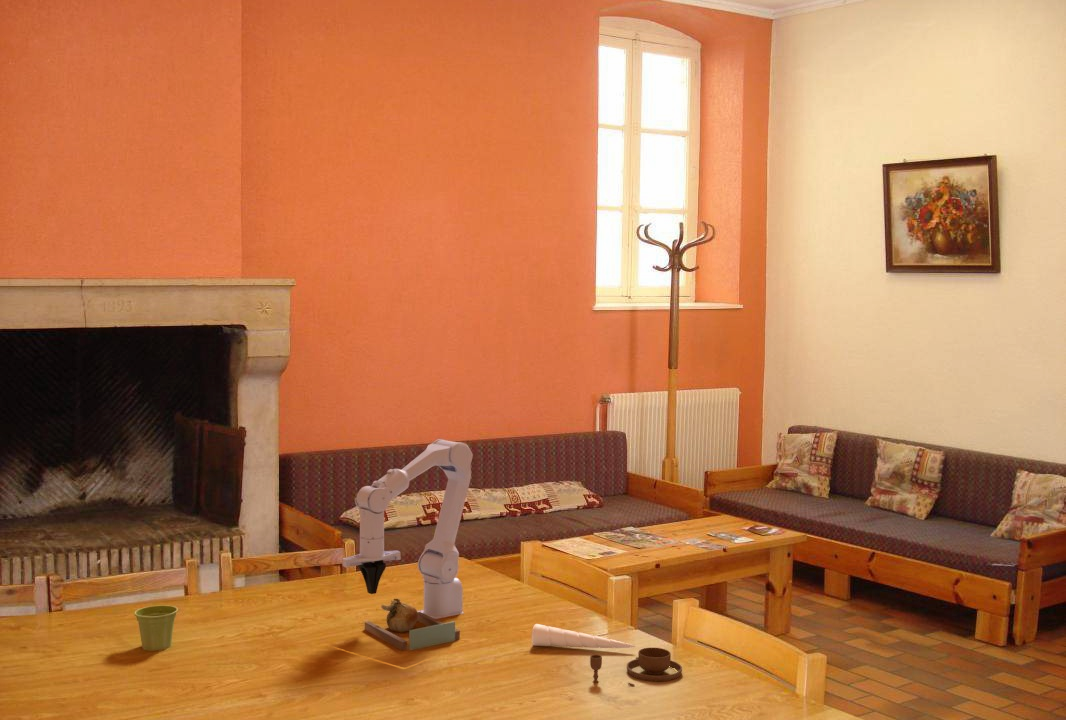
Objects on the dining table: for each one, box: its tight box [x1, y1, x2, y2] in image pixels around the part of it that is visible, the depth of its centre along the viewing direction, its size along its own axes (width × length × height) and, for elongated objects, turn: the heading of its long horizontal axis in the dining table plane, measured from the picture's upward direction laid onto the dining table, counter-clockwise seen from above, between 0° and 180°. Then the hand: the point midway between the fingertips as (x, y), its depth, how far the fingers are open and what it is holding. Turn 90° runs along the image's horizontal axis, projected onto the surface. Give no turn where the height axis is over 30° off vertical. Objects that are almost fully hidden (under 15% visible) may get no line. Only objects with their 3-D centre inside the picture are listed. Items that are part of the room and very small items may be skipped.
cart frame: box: [364, 612, 461, 652], centre depth 259 cm, size 15×18×2 cm
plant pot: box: [133, 604, 179, 652], centre depth 249 cm, size 9×9×9 cm
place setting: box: [589, 647, 683, 688], centre depth 237 cm, size 18×20×6 cm
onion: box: [381, 598, 418, 633], centre depth 263 cm, size 8×8×8 cm
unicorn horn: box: [531, 623, 636, 649], centre depth 250 cm, size 5×24×5 cm
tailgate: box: [408, 620, 456, 651], centre depth 251 cm, size 1×12×5 cm, turn 125°
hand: (371, 592), depth 262 cm, fingers closed
